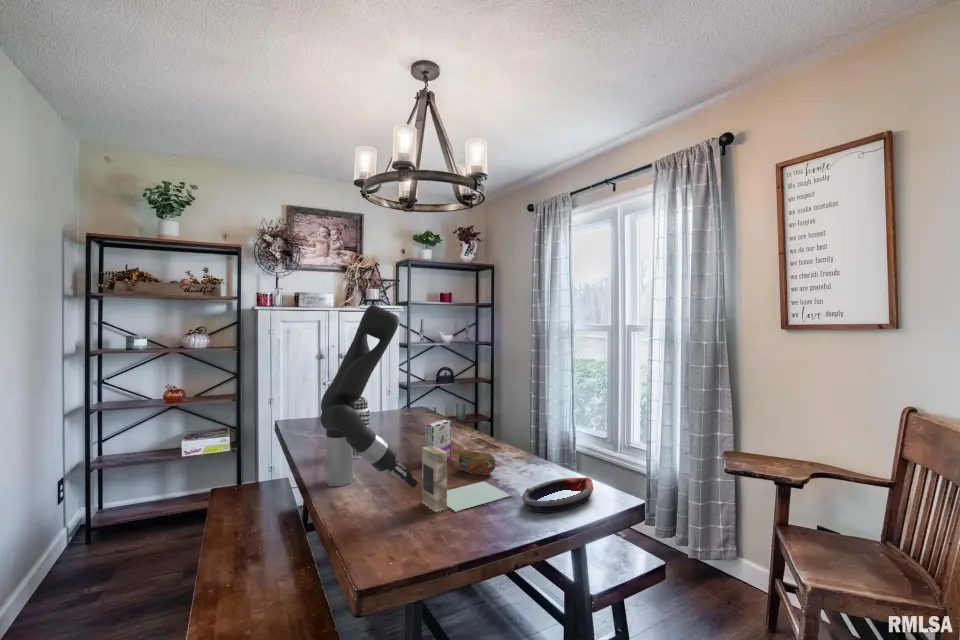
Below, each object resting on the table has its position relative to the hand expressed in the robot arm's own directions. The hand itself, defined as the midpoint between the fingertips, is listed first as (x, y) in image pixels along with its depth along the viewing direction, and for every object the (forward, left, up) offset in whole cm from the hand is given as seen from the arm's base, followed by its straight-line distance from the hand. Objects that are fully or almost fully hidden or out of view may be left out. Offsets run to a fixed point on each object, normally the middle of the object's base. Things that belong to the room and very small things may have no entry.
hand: (414, 484), depth 142 cm
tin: (+36, +18, -9) cm, 41 cm away
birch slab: (+7, 0, -8) cm, 11 cm away
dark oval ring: (+43, -20, -9) cm, 48 cm away
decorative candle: (+6, +65, -9) cm, 66 cm away
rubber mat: (+21, 0, -8) cm, 23 cm away
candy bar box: (+30, +38, -9) cm, 49 cm away
